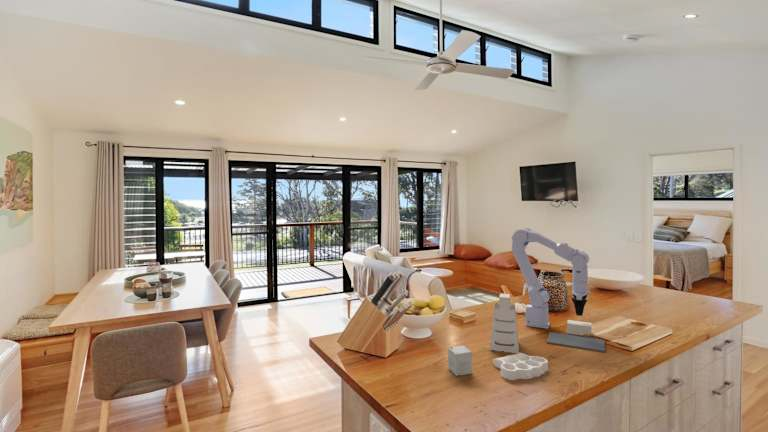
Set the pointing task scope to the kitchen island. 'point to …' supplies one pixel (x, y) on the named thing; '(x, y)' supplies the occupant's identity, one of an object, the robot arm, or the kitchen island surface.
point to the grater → (504, 326)
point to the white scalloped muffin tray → (521, 366)
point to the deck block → (578, 327)
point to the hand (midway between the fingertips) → (579, 312)
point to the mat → (576, 341)
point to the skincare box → (460, 360)
